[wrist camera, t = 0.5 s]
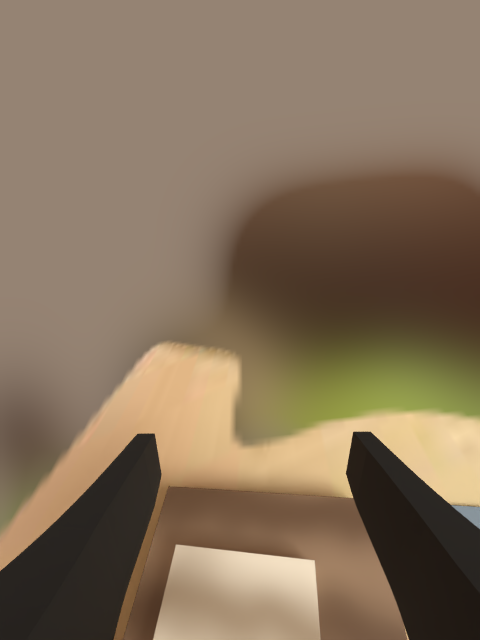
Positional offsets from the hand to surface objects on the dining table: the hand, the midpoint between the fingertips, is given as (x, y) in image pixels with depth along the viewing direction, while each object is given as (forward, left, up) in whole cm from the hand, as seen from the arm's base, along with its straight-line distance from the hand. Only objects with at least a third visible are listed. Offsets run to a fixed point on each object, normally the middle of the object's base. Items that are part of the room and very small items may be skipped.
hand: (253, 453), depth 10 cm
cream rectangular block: (-4, +3, -16) cm, 17 cm away
